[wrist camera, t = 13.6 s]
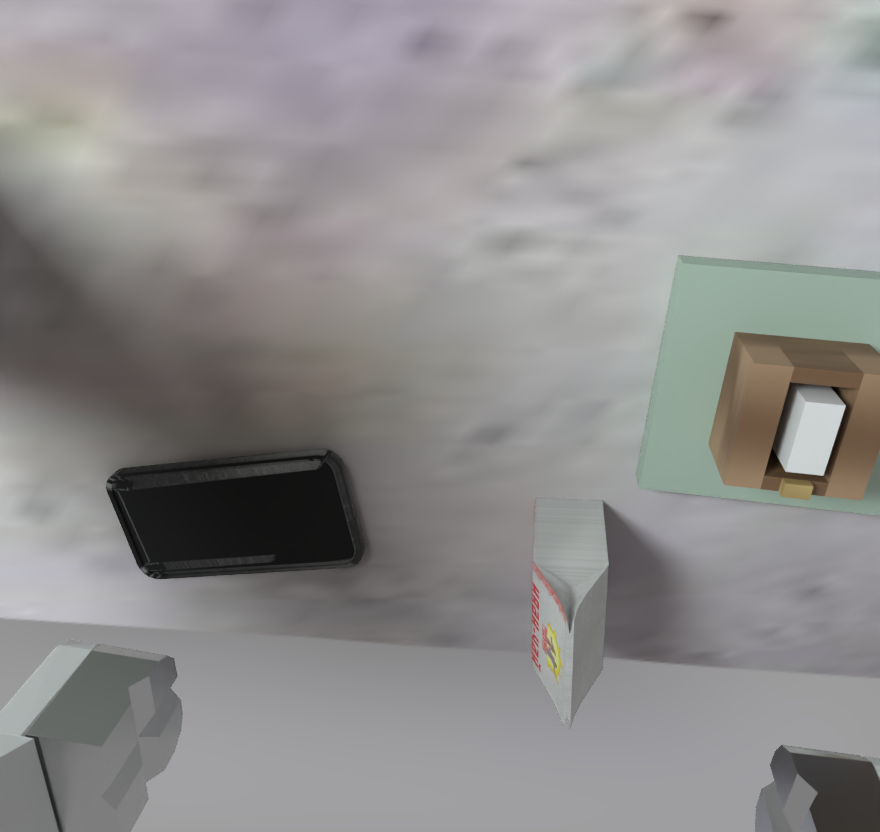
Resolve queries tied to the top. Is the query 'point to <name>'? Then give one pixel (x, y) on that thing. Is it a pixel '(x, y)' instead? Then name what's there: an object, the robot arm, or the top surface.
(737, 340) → the open wooden frame
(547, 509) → the white boxy piece
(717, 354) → the base
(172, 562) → the phone
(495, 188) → the top surface
